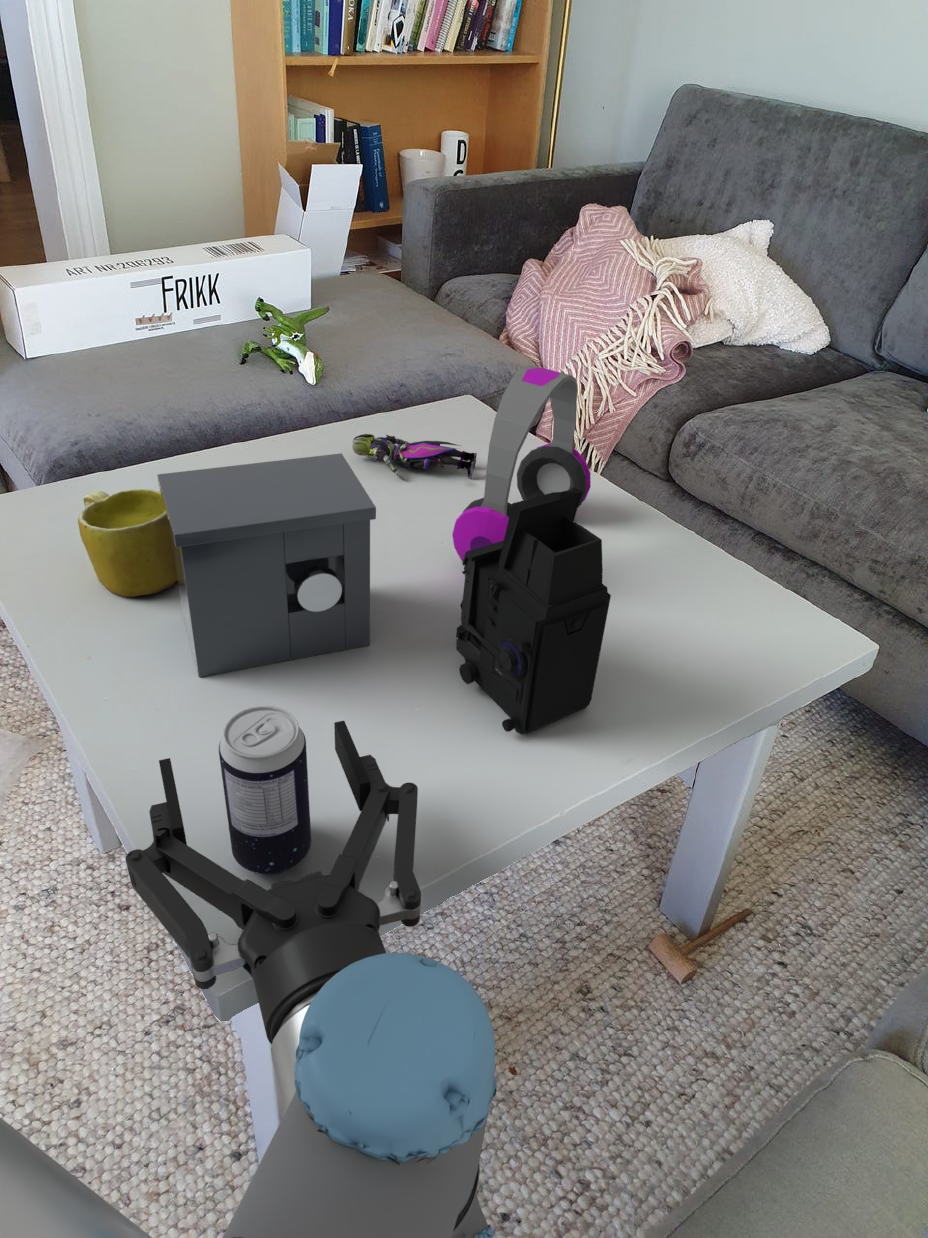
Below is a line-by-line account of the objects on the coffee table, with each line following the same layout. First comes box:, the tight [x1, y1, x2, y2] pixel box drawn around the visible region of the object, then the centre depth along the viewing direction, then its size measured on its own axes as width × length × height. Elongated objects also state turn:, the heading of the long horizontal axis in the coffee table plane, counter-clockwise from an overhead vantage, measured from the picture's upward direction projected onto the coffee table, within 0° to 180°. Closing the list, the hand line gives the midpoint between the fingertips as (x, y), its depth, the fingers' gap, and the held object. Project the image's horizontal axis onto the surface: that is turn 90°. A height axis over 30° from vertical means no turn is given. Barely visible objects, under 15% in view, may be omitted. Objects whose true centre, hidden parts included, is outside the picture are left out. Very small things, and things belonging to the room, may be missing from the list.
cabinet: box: [156, 452, 377, 678], centre depth 84 cm, size 17×11×15 cm, turn 112°
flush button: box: [294, 566, 342, 612], centre depth 81 cm, size 4×1×4 cm, turn 112°
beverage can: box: [218, 705, 312, 875], centre depth 64 cm, size 6×6×12 cm
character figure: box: [351, 433, 478, 481], centre depth 117 cm, size 9×4×16 cm
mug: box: [77, 488, 178, 598], centre depth 93 cm, size 12×10×10 cm
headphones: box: [452, 364, 592, 562], centre depth 99 cm, size 21×9×20 cm, turn 152°
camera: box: [455, 487, 612, 734], centre depth 78 cm, size 10×14×20 cm
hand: (255, 753), depth 66 cm, fingers open, 12 cm apart
